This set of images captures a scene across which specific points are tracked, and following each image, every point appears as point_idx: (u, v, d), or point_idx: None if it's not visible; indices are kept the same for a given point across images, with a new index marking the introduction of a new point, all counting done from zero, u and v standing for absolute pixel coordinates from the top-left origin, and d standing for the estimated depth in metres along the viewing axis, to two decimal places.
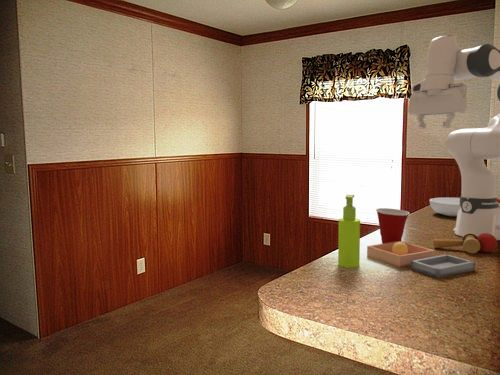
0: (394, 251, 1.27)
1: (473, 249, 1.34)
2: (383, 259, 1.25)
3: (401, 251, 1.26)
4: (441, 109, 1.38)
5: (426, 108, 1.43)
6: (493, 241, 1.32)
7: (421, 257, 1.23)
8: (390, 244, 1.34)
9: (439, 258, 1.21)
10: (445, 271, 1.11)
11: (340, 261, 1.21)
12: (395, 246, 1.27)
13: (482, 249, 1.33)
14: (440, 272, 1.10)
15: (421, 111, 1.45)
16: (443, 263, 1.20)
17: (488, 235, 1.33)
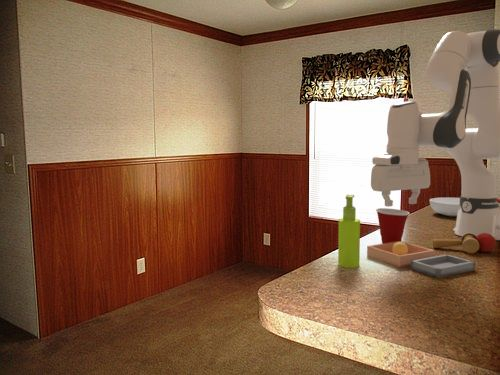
0: (394, 251, 1.27)
1: (472, 249, 1.34)
2: (383, 259, 1.25)
3: (401, 251, 1.26)
4: (415, 185, 1.26)
5: (400, 184, 1.23)
6: (492, 241, 1.32)
7: (421, 257, 1.23)
8: (390, 244, 1.34)
9: (439, 258, 1.21)
10: (445, 271, 1.11)
11: (340, 261, 1.21)
12: (395, 246, 1.27)
13: (481, 249, 1.33)
14: (440, 272, 1.10)
15: (394, 187, 1.22)
16: (443, 263, 1.20)
17: (487, 235, 1.33)
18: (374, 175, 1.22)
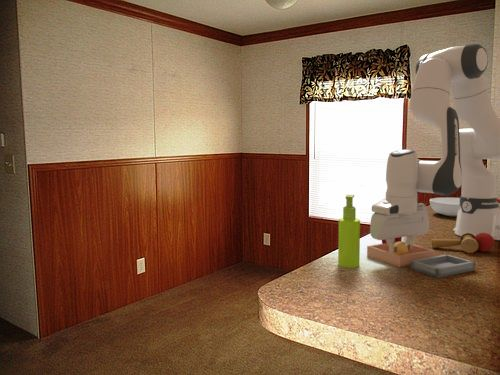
0: None
1: (471, 248, 1.34)
2: (383, 259, 1.25)
3: (401, 251, 1.26)
4: (414, 231, 1.27)
5: (399, 232, 1.25)
6: (491, 241, 1.32)
7: (421, 257, 1.23)
8: None
9: (439, 258, 1.21)
10: (445, 271, 1.11)
11: (340, 261, 1.21)
12: None
13: (480, 249, 1.34)
14: (440, 272, 1.10)
15: (394, 235, 1.24)
16: (443, 263, 1.20)
17: (486, 235, 1.33)
18: (374, 224, 1.23)
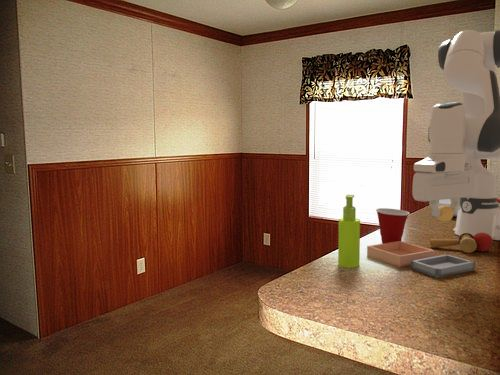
0: None
1: (469, 248, 1.34)
2: (383, 259, 1.25)
3: (446, 215, 1.13)
4: (460, 194, 1.15)
5: (444, 193, 1.12)
6: (489, 241, 1.33)
7: (421, 257, 1.23)
8: (390, 244, 1.34)
9: (439, 258, 1.21)
10: (445, 271, 1.11)
11: (340, 261, 1.21)
12: None
13: (478, 248, 1.34)
14: (440, 272, 1.10)
15: (439, 197, 1.11)
16: (443, 263, 1.20)
17: (484, 234, 1.34)
18: (417, 184, 1.11)
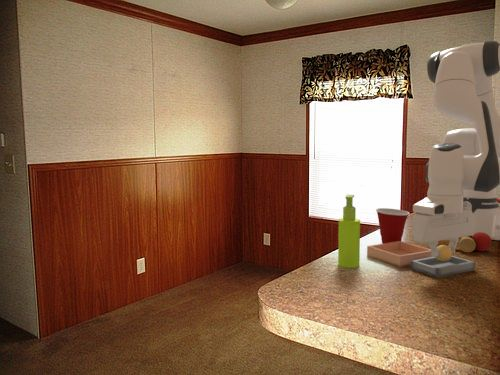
0: None
1: (468, 248, 1.35)
2: (383, 259, 1.25)
3: (445, 255, 1.14)
4: (458, 233, 1.16)
5: (443, 234, 1.13)
6: (488, 240, 1.33)
7: (421, 257, 1.23)
8: (390, 244, 1.34)
9: None
10: (445, 271, 1.11)
11: (340, 261, 1.21)
12: (438, 249, 1.16)
13: (477, 248, 1.34)
14: (440, 272, 1.10)
15: (437, 238, 1.13)
16: (443, 263, 1.20)
17: (483, 234, 1.34)
18: (416, 225, 1.12)
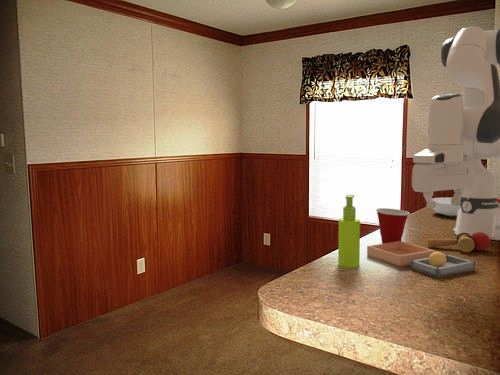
0: None
1: (467, 248, 1.35)
2: (383, 259, 1.25)
3: (441, 265, 1.14)
4: (459, 184, 1.16)
5: (443, 184, 1.13)
6: (487, 240, 1.33)
7: (421, 257, 1.23)
8: (390, 244, 1.34)
9: None
10: (445, 271, 1.11)
11: (340, 261, 1.21)
12: (432, 263, 1.15)
13: (476, 248, 1.35)
14: (440, 272, 1.10)
15: (438, 188, 1.12)
16: None
17: (482, 234, 1.34)
18: (416, 175, 1.11)
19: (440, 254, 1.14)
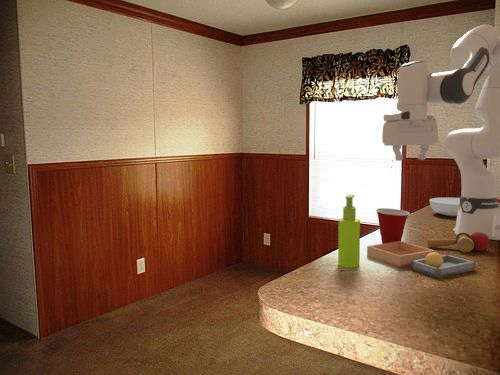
0: None
1: (466, 248, 1.35)
2: (383, 259, 1.25)
3: (439, 266, 1.14)
4: (424, 141, 1.33)
5: (410, 139, 1.30)
6: (486, 240, 1.33)
7: (421, 257, 1.23)
8: (390, 244, 1.34)
9: None
10: (445, 271, 1.11)
11: (340, 261, 1.21)
12: None
13: (475, 248, 1.35)
14: (440, 272, 1.10)
15: (405, 142, 1.30)
16: (443, 263, 1.20)
17: (481, 234, 1.35)
18: (386, 131, 1.29)
19: (434, 257, 1.14)
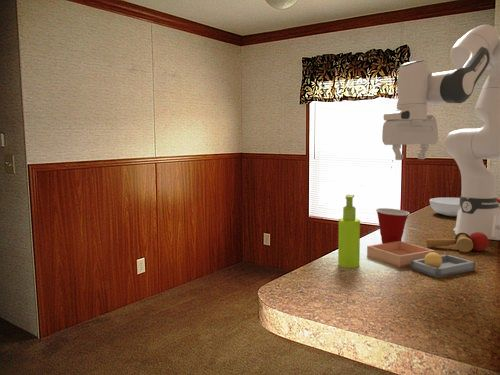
0: None
1: (466, 248, 1.35)
2: (383, 259, 1.25)
3: (439, 266, 1.14)
4: (424, 140, 1.33)
5: (410, 138, 1.31)
6: (485, 240, 1.34)
7: (421, 257, 1.23)
8: (390, 244, 1.34)
9: None
10: (445, 271, 1.11)
11: (340, 261, 1.21)
12: None
13: (475, 248, 1.35)
14: (440, 272, 1.10)
15: (405, 141, 1.30)
16: (443, 263, 1.20)
17: (480, 234, 1.35)
18: (386, 130, 1.29)
19: (432, 258, 1.13)
